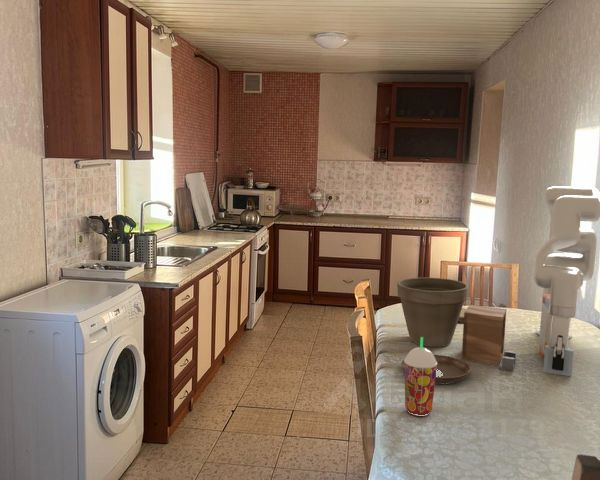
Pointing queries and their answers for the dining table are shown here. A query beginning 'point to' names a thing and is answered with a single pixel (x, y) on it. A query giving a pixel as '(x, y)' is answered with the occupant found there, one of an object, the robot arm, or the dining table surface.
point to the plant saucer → (449, 369)
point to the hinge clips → (508, 361)
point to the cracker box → (545, 324)
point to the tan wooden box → (483, 334)
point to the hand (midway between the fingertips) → (557, 365)
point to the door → (549, 358)
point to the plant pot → (432, 308)
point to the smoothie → (419, 380)
